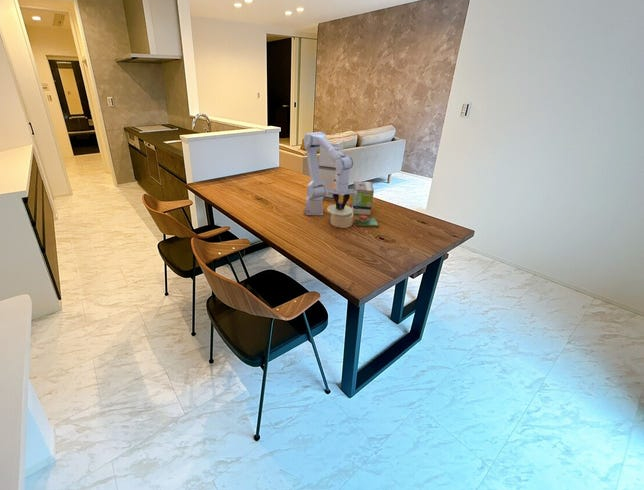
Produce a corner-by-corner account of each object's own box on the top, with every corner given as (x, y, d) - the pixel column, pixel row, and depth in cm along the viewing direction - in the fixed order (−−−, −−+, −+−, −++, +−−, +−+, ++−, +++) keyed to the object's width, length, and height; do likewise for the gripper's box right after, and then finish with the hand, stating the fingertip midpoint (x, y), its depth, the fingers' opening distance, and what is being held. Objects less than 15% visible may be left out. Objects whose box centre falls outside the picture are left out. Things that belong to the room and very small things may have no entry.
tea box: (370, 215, 163) (374, 190, 157) (352, 214, 165) (354, 189, 159) (368, 204, 176) (371, 181, 170) (351, 203, 178) (353, 180, 172)
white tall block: (333, 201, 182) (338, 143, 168) (317, 198, 187) (320, 142, 172) (338, 194, 191) (343, 140, 177) (323, 192, 196) (326, 138, 181)
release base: (357, 226, 151) (358, 221, 150) (355, 219, 158) (356, 214, 157) (378, 227, 150) (379, 222, 149) (374, 220, 158) (375, 215, 156)
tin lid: (332, 217, 141) (332, 209, 139) (323, 207, 152) (324, 199, 150) (356, 215, 143) (357, 206, 141) (346, 205, 154) (347, 197, 152)
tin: (334, 228, 149) (335, 219, 147) (327, 219, 160) (327, 209, 157) (356, 226, 151) (357, 217, 149) (347, 217, 161) (348, 208, 159)
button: (360, 220, 152) (360, 217, 151) (359, 217, 155) (359, 214, 154) (367, 220, 152) (367, 217, 151) (365, 217, 155) (366, 215, 154)
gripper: (327, 184, 138) (325, 211, 144) (359, 185, 137) (356, 212, 143) (326, 179, 144) (324, 205, 150) (356, 180, 143) (353, 206, 149)
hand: (339, 208), depth 147 cm, fingers closed on tin lid, 2 cm apart
